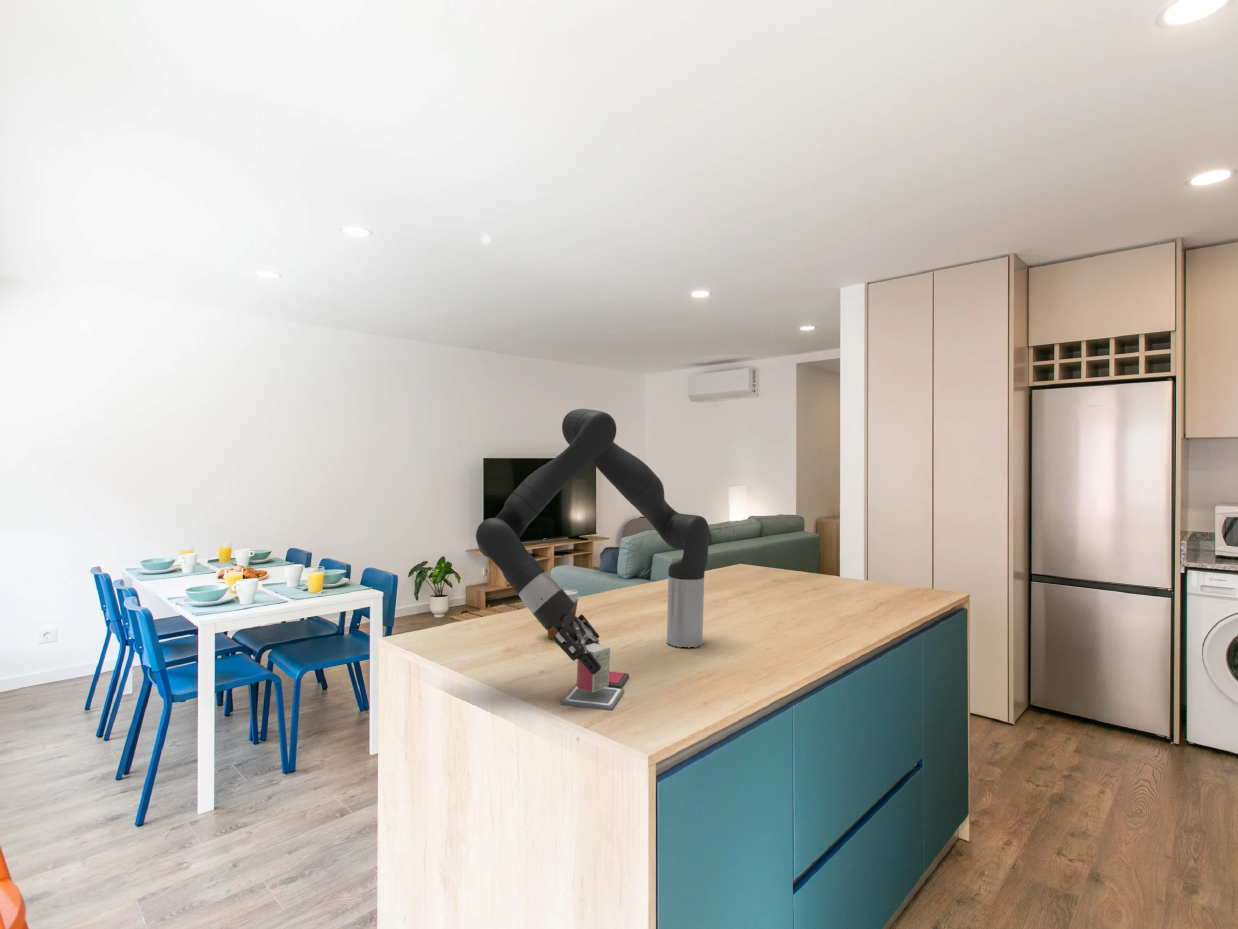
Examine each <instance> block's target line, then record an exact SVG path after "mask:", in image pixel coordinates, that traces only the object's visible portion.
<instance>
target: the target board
mask: <svg viewBox="0 0 1238 929" xmlns="http://www.w3.org/2000/svg"><path fill="white" fill-rule="evenodd" d="M624 693H625V688H621V689H620V688H611V687H605V688H603V689H600V690H598V691H595V692H589V691H586V690H583V689H581V688H578V687H577V683H576V684H575V685H574V686H572V688H571V689H570V690H569V692H568V693H567V694H566V695H565V696H564V697H563V698H562V699H561V700H560V705H565V706H574V707H579V708H580V707H581V708H589V709H598V710H607V711H613V710H614V708H615V707H616V705H617V704H618V702H619V701H620V699H621V697H622V696H623V695H624Z"/></svg>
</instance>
